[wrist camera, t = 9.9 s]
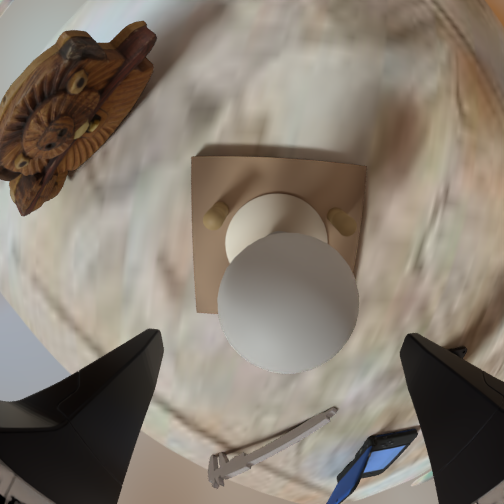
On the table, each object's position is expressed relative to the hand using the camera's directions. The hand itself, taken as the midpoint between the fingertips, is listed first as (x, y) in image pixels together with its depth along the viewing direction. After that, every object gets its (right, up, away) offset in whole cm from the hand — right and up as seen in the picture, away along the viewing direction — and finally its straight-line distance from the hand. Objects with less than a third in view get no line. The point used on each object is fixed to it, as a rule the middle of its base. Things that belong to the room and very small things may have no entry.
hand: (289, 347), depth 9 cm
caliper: (+1, -21, +21) cm, 30 cm away
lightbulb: (+1, +4, +11) cm, 11 cm away
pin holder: (+1, +4, +12) cm, 12 cm away
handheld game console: (+17, -30, +24) cm, 42 cm away
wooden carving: (-13, +13, +9) cm, 21 cm away
